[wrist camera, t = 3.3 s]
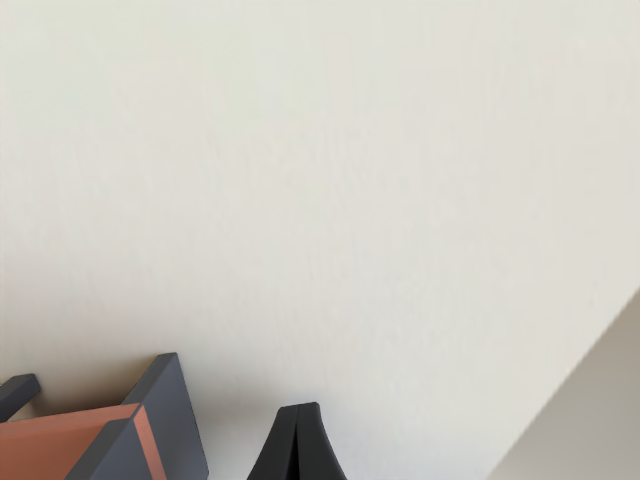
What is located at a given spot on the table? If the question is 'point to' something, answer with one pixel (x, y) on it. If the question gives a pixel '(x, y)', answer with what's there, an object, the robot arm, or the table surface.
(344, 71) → the table surface
